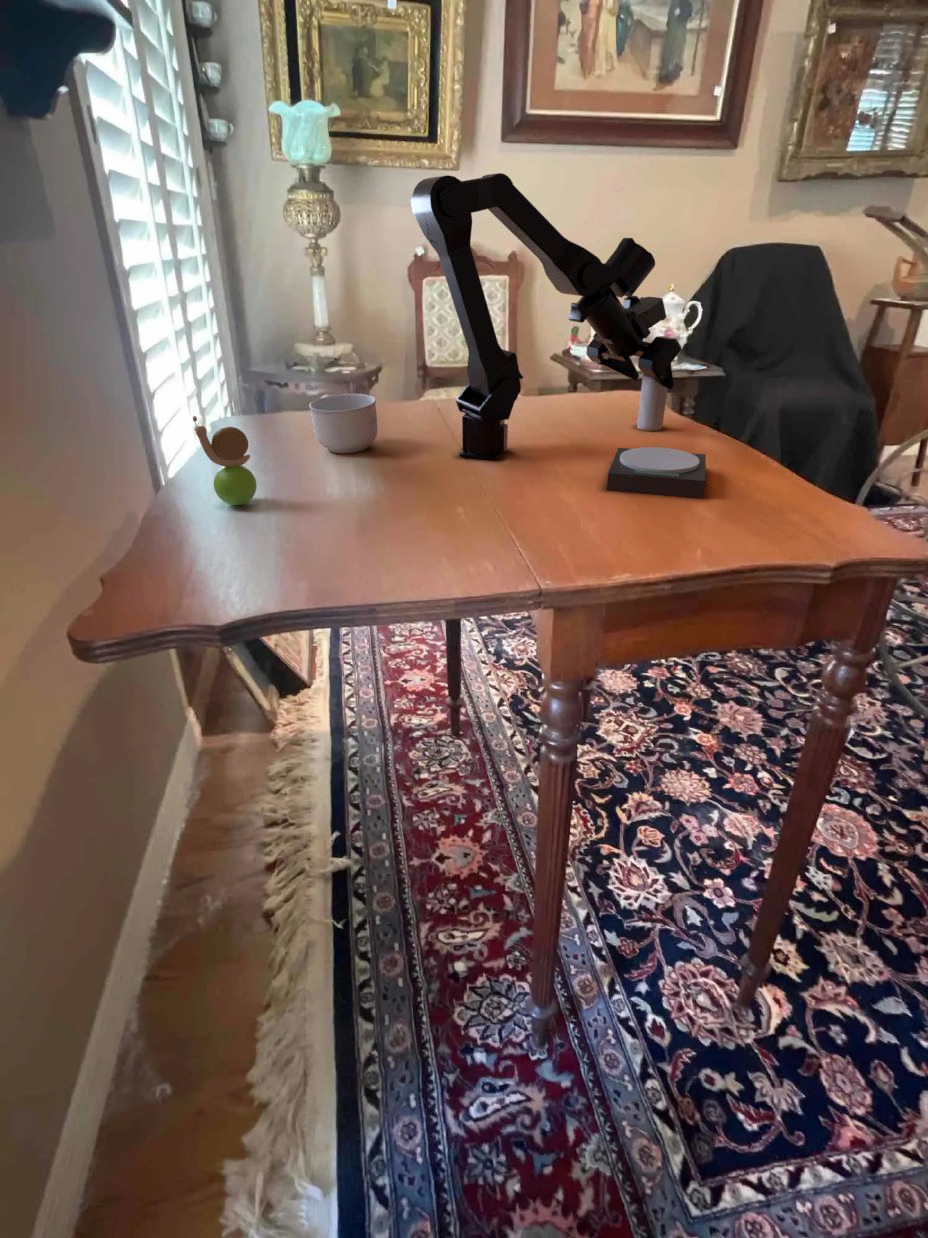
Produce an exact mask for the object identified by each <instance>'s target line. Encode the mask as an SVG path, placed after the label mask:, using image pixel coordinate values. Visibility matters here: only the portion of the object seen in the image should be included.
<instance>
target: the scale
mask: <svg viewBox="0 0 928 1238" xmlns="http://www.w3.org/2000/svg"><path fill="white" fill-rule="evenodd" d="M706 455H707V454H705V453H695V452H689V451H684V450H681V449H676V448H669V447H657V446H646V447H644V446H643V447H634V448H627V447H617V449H616V452H615V455H614V458H613V460H612V462H611V465H610V467H609V469H608V472H607V479H606V480H607V481H606V491H614V492H615V491H616V492H625V493H638V494H649V495H659V496H672V497H682V498H693V499H703V498H704V494H705V493H704V492H705V487H706V483H707V482H706V478H707V477H706V476H707V475H706V474H707V473H706V470H707V469H706V468H707V467H706V466H707V465H706V464H707V463H706V459H707V458H706Z"/></svg>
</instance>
